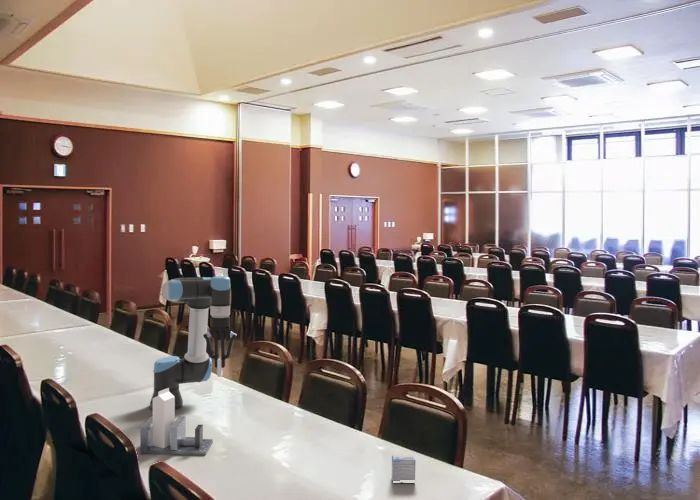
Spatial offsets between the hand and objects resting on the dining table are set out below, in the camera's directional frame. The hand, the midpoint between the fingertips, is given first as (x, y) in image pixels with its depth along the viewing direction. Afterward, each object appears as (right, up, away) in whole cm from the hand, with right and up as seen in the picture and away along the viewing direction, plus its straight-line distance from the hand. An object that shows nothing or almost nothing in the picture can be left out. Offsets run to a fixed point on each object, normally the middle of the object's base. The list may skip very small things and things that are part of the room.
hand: (219, 375), depth 224 cm
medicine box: (+70, -32, -23) cm, 80 cm away
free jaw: (-13, -27, +1) cm, 30 cm away
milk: (-22, -28, +1) cm, 36 cm away
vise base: (-17, -29, +1) cm, 34 cm away
